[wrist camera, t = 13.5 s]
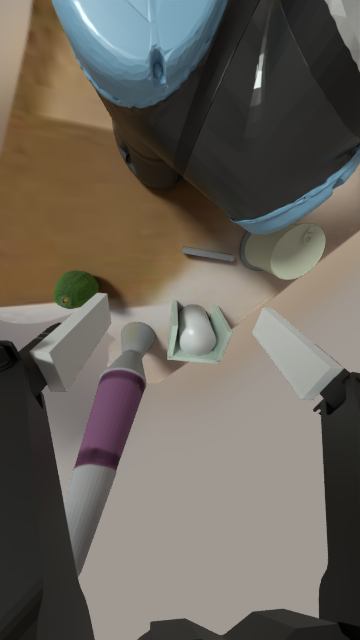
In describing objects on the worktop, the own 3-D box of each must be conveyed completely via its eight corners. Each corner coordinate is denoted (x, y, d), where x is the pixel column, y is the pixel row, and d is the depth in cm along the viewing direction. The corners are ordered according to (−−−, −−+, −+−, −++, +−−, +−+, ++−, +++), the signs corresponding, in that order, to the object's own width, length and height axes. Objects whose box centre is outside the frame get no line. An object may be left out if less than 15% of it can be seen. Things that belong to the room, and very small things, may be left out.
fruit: (103, 299, 42) (81, 322, 32) (72, 291, 41) (39, 312, 31) (105, 272, 39) (81, 288, 28) (72, 262, 37) (33, 275, 27)
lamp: (119, 343, 51) (7, 582, 17) (124, 317, 46) (-20, 585, 12) (150, 351, 53) (109, 575, 19) (159, 327, 48) (124, 574, 14)
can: (291, 228, 35) (341, 229, 24) (272, 269, 39) (307, 284, 29) (254, 220, 33) (289, 216, 23) (238, 263, 38) (262, 276, 28)
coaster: (250, 214, 33) (251, 214, 33) (295, 224, 35) (297, 224, 34) (233, 266, 39) (234, 266, 39) (273, 272, 40) (274, 273, 40)
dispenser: (180, 245, 36) (183, 254, 25) (234, 254, 38) (259, 266, 27) (168, 329, 48) (167, 359, 37) (209, 333, 50) (219, 363, 39)
